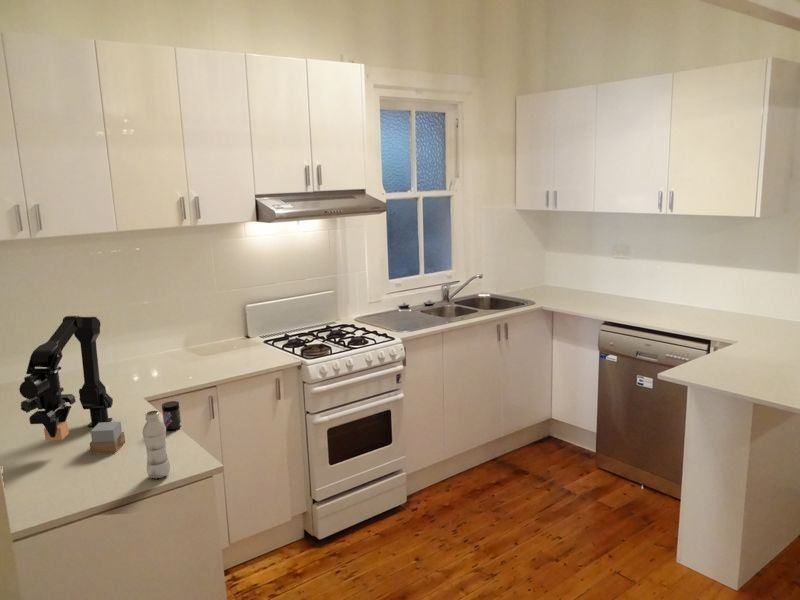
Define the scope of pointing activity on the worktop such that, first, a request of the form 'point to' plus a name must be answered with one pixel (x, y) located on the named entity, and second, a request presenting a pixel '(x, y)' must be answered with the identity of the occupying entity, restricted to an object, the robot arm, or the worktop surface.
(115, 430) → the slate top block
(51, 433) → the robot arm
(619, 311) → the worktop surface
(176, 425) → the supplement container
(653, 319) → the worktop surface
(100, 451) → the walnut base block
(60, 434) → the terracotta block
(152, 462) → the plastic bottle
